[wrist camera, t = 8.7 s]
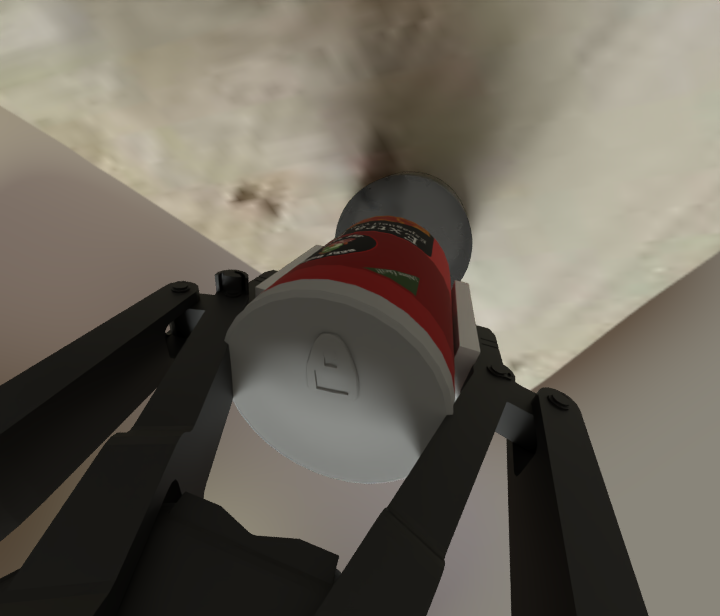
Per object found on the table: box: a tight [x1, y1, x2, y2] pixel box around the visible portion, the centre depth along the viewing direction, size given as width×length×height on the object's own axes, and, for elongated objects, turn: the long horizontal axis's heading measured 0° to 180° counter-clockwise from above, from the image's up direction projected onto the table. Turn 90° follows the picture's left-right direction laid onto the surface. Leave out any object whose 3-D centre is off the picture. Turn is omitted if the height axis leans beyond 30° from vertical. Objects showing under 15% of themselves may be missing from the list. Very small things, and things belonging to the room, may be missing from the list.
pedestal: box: [335, 172, 472, 290], centre depth 25 cm, size 11×11×5 cm
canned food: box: [224, 216, 455, 484], centre depth 14 cm, size 8×8×11 cm
